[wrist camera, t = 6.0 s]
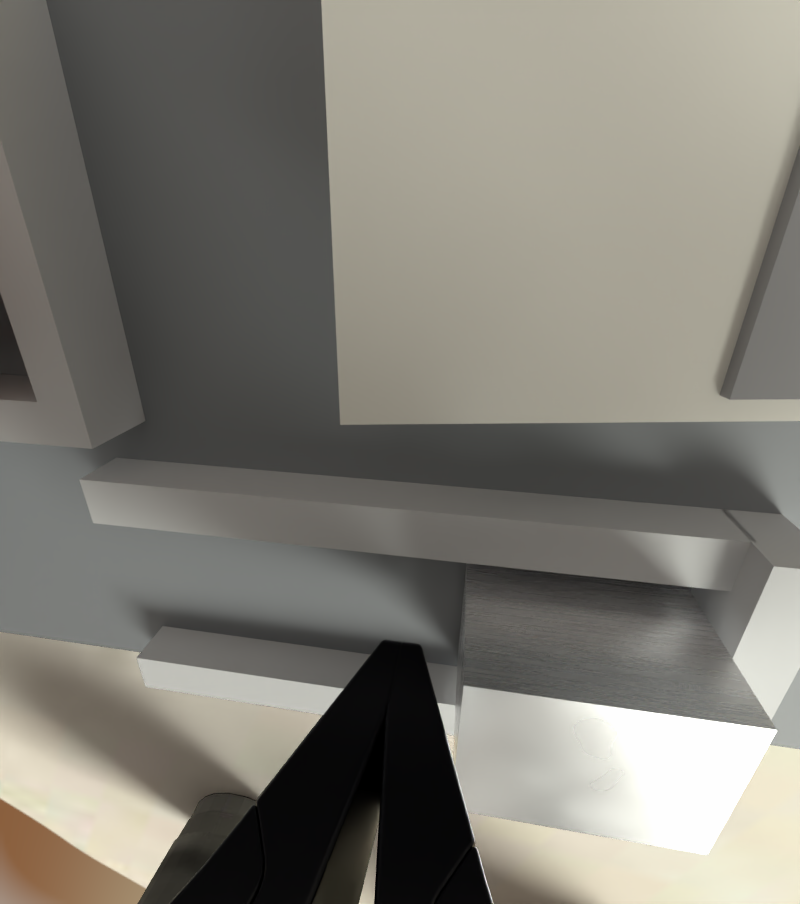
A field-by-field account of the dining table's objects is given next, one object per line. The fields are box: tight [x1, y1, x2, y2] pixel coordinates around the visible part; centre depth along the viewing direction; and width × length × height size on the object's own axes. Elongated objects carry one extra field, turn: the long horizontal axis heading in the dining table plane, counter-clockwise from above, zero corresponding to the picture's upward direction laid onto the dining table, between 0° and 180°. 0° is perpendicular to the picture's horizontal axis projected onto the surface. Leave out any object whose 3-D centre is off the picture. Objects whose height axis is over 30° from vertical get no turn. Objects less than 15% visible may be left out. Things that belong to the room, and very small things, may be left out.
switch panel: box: [0, 0, 800, 749], centre depth 9 cm, size 24×14×5 cm, turn 89°
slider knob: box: [453, 563, 777, 855], centre depth 8 cm, size 4×3×3 cm
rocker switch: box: [321, 0, 800, 425], centre depth 5 cm, size 6×4×2 cm, turn 89°
